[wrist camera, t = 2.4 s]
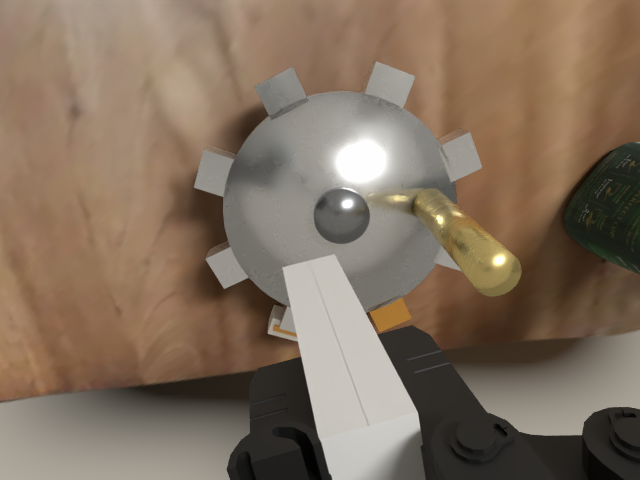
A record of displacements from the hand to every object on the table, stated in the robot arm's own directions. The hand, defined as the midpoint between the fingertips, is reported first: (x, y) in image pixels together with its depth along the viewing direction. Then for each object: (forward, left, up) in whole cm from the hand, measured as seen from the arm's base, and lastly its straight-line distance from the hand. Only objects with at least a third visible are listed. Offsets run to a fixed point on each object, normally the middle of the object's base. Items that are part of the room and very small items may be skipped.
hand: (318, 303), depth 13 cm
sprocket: (+2, -4, -22) cm, 23 cm away
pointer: (-3, -15, -25) cm, 30 cm away
